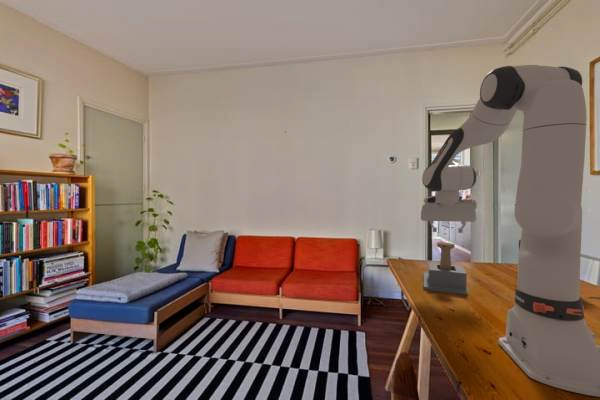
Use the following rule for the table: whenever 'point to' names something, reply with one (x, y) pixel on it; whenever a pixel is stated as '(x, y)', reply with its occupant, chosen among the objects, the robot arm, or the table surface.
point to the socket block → (446, 279)
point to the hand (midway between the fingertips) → (447, 232)
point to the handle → (445, 255)
